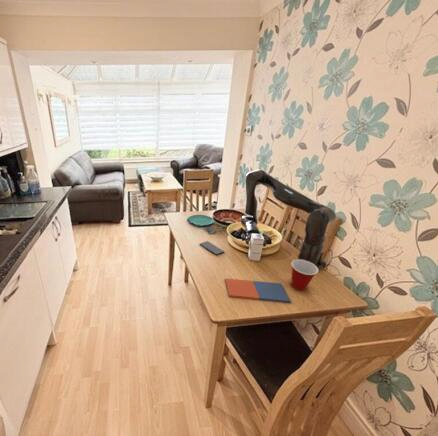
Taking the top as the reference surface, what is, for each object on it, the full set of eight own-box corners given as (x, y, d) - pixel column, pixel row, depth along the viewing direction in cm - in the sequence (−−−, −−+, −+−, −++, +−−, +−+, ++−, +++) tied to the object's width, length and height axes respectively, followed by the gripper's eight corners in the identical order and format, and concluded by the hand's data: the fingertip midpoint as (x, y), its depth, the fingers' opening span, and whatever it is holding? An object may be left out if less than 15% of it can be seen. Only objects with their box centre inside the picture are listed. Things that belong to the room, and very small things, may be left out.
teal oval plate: (204, 215, 195) (204, 212, 194) (228, 230, 169) (228, 227, 168) (183, 219, 188) (183, 216, 187) (204, 235, 163) (205, 232, 162)
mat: (280, 285, 116) (281, 283, 115) (290, 302, 105) (290, 301, 104) (225, 280, 119) (225, 278, 119) (229, 296, 108) (229, 295, 108)
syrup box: (260, 261, 134) (265, 238, 128) (249, 260, 135) (253, 237, 130) (257, 255, 139) (262, 233, 134) (247, 254, 140) (251, 233, 135)
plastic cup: (286, 290, 112) (292, 269, 107) (284, 277, 121) (290, 257, 116) (313, 297, 108) (320, 275, 103) (309, 283, 117) (316, 262, 112)
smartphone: (207, 241, 154) (224, 251, 142) (207, 242, 154) (224, 252, 142) (199, 243, 151) (216, 254, 139) (199, 244, 151) (216, 255, 139)
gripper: (241, 225, 148) (243, 236, 134) (265, 227, 145) (271, 239, 131) (239, 235, 151) (241, 248, 137) (263, 238, 148) (268, 251, 134)
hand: (256, 244), depth 134 cm, fingers open, 8 cm apart
